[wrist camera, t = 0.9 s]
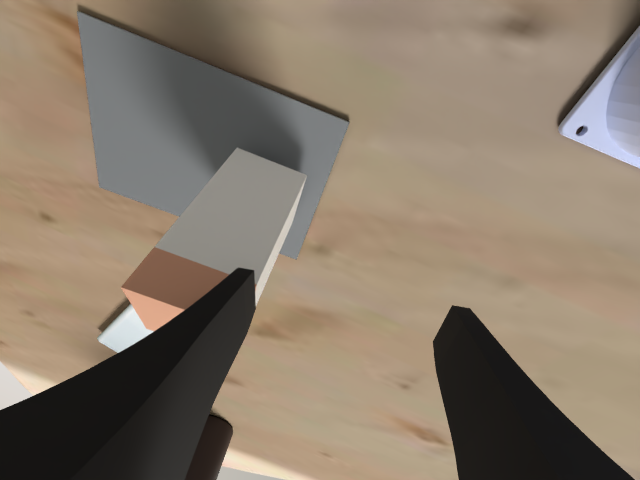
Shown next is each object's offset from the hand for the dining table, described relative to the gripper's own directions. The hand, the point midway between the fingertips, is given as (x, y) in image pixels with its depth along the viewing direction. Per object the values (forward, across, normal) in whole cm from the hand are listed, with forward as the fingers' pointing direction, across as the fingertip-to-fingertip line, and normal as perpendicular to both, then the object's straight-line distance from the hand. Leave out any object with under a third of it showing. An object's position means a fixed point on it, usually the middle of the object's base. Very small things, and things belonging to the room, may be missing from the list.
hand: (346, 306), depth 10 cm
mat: (+10, +10, -1) cm, 15 cm away
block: (+9, +6, 0) cm, 11 cm away
